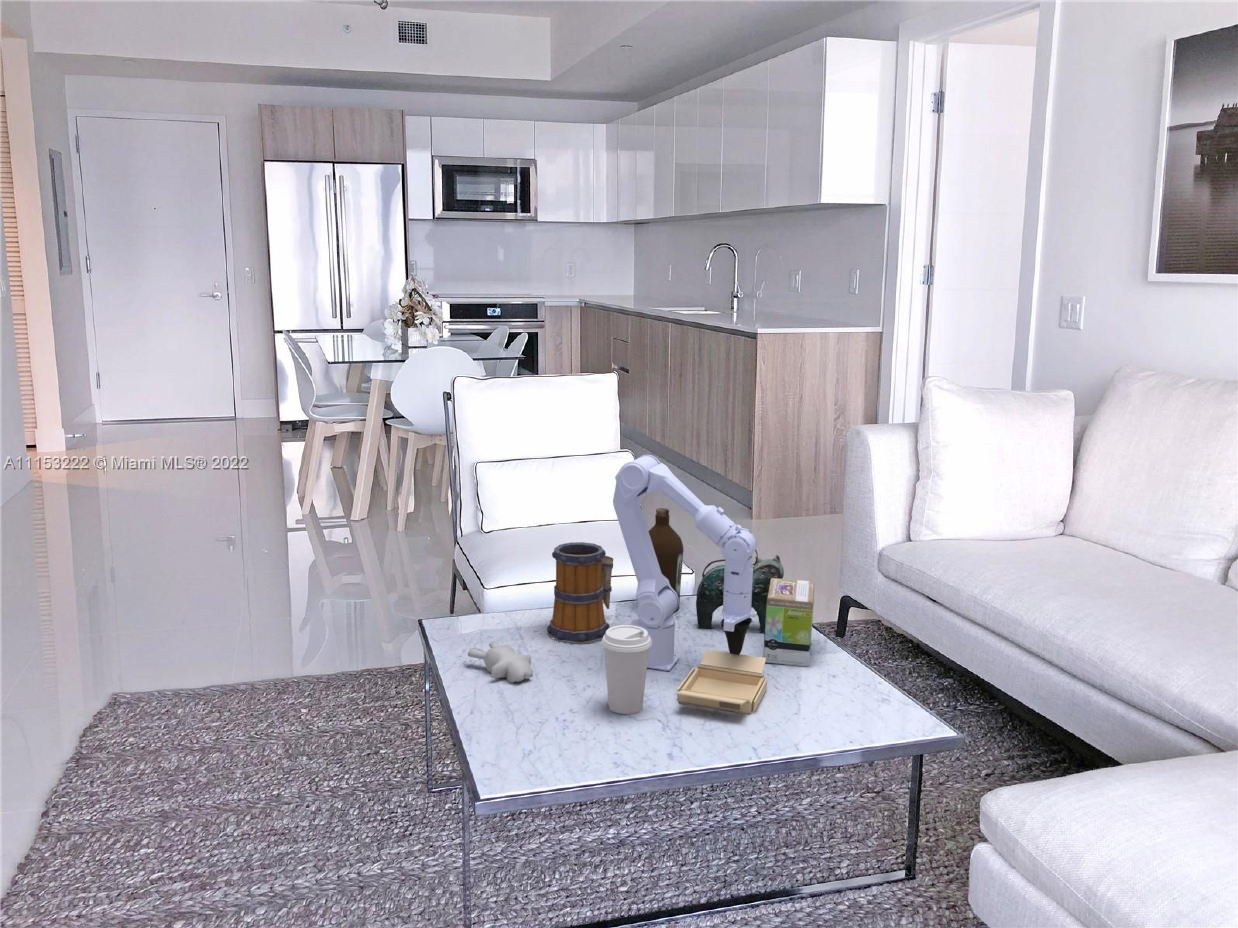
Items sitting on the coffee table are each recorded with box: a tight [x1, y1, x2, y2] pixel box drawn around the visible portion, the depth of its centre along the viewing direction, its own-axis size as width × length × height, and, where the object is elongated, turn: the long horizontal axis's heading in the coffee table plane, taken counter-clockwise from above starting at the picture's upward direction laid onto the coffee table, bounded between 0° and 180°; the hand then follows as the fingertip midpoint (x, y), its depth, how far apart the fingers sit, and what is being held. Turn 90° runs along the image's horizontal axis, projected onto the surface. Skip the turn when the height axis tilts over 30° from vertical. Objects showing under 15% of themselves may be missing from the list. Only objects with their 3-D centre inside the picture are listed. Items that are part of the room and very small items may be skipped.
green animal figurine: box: [695, 548, 785, 634], centre depth 229 cm, size 20×6×20 cm, turn 82°
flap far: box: [700, 648, 766, 675], centre depth 203 cm, size 13×1×4 cm
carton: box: [676, 664, 768, 715], centre depth 195 cm, size 15×13×3 cm
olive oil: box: [648, 507, 684, 614], centre depth 243 cm, size 11×11×25 cm
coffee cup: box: [600, 624, 652, 715], centre depth 188 cm, size 10×10×15 cm
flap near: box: [676, 690, 747, 705], centre depth 187 cm, size 13×1×4 cm
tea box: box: [762, 578, 815, 667], centre depth 217 cm, size 15×10×15 cm
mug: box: [546, 541, 614, 645], centre depth 228 cm, size 19×14×20 cm
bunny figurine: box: [467, 641, 534, 684], centre depth 205 cm, size 10×5×15 cm
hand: (735, 652), depth 204 cm, fingers closed
